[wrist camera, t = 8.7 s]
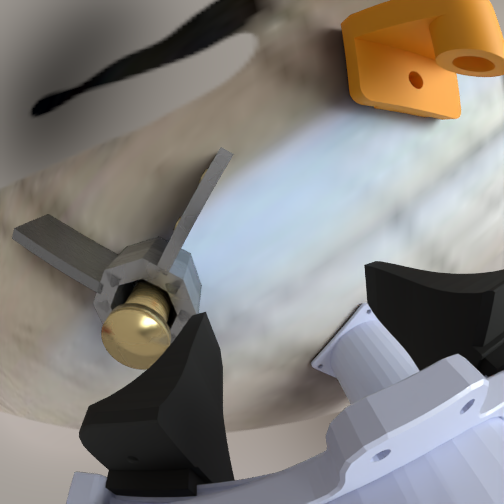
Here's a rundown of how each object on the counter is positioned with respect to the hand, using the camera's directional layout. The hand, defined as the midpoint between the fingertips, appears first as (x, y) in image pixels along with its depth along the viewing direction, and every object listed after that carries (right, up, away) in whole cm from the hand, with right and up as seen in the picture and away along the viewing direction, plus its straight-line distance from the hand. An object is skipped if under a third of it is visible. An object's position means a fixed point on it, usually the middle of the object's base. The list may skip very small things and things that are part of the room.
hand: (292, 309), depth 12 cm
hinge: (-11, +5, +8) cm, 14 cm away
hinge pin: (-9, 0, +10) cm, 13 cm away
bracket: (+11, +18, +7) cm, 22 cm away
